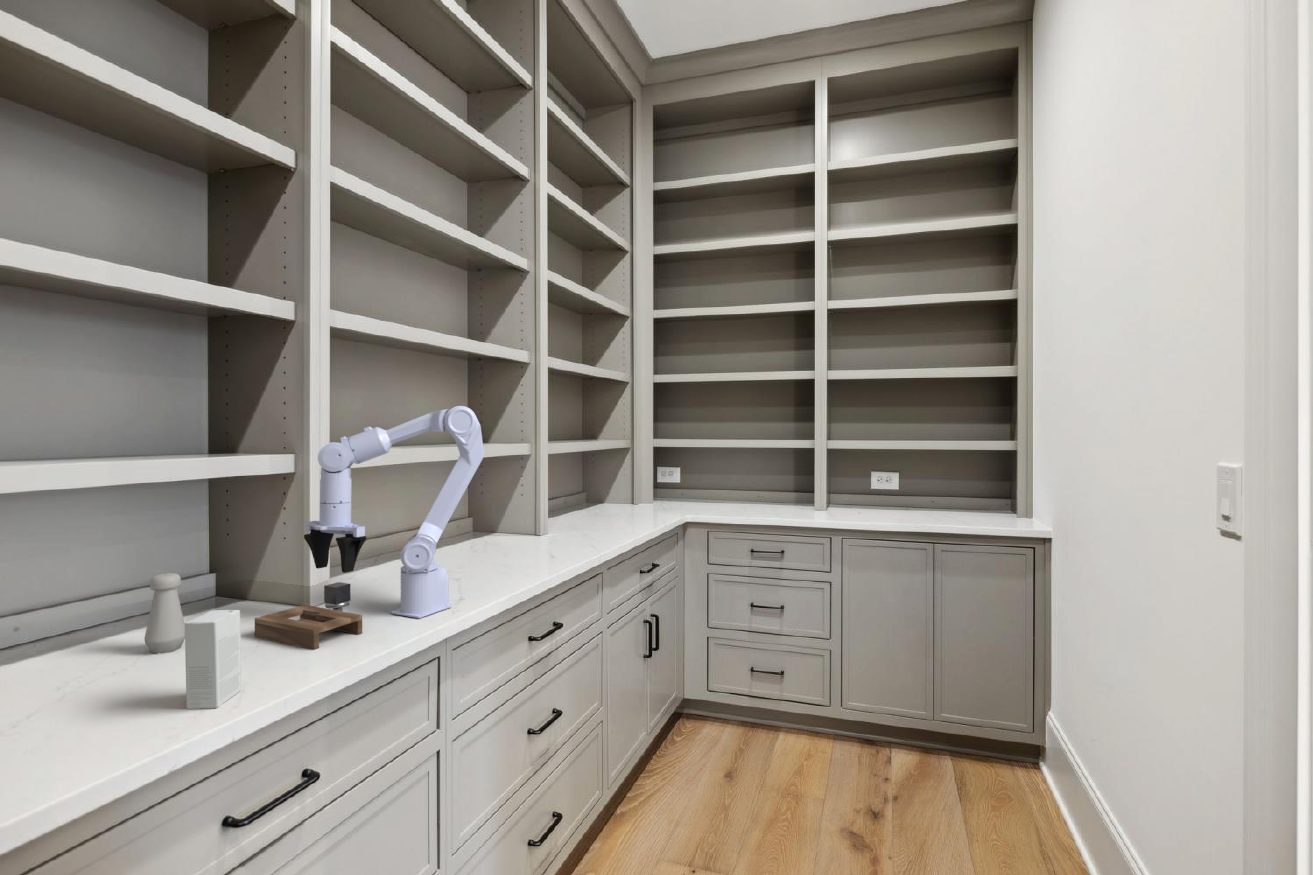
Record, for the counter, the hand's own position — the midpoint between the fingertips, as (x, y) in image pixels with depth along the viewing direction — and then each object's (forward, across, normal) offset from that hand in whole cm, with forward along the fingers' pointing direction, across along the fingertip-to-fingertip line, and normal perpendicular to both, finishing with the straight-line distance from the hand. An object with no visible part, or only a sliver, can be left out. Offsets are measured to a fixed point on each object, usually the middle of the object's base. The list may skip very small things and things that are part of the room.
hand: (334, 569), depth 130 cm
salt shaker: (+10, -10, -25) cm, 29 cm away
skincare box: (+10, +19, -34) cm, 41 cm away
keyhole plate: (+10, +6, -9) cm, 15 cm away
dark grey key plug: (+10, 0, +1) cm, 10 cm away
